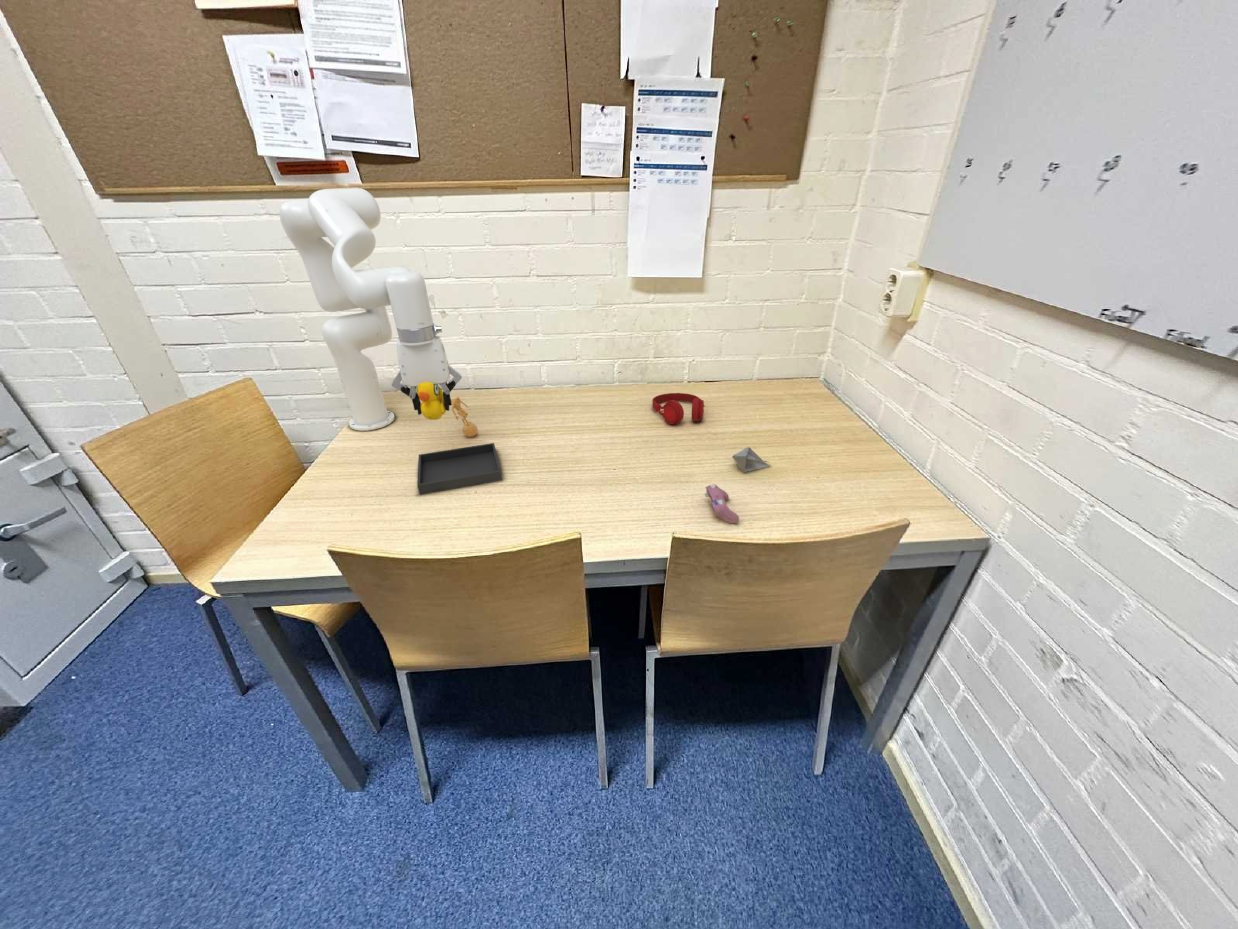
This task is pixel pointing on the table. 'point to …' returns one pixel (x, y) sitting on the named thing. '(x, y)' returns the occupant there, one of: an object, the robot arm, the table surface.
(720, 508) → the pink elongated piece
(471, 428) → the figurine
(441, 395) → the duckling
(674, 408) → the headphones
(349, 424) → the robot arm
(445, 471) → the pan
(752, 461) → the paper boat
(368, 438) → the table surface
